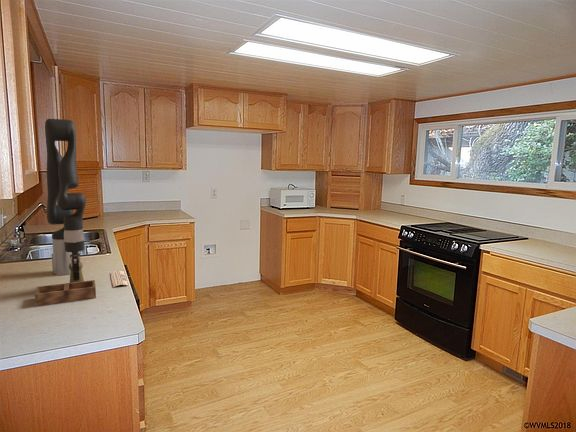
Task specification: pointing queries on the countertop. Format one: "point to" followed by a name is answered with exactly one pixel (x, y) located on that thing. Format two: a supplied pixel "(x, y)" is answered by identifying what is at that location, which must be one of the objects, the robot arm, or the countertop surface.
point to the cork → (79, 274)
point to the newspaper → (118, 278)
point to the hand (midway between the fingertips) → (76, 278)
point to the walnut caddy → (65, 292)
